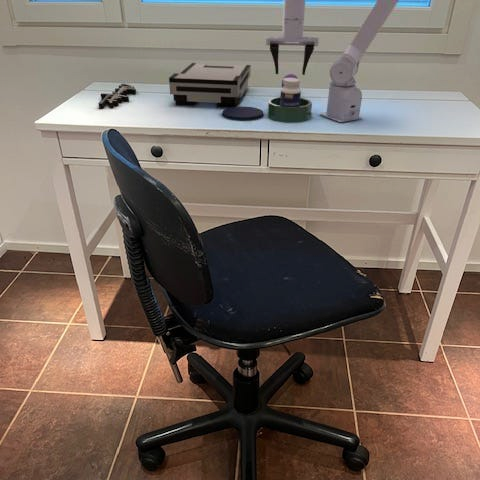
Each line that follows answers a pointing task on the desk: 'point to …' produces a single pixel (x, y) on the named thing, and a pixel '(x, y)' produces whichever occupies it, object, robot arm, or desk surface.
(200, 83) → the game console
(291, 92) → the pill bottle
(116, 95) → the dark jagged flat part
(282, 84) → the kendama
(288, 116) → the ring
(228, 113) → the navy blue disc
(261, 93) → the desk surface
